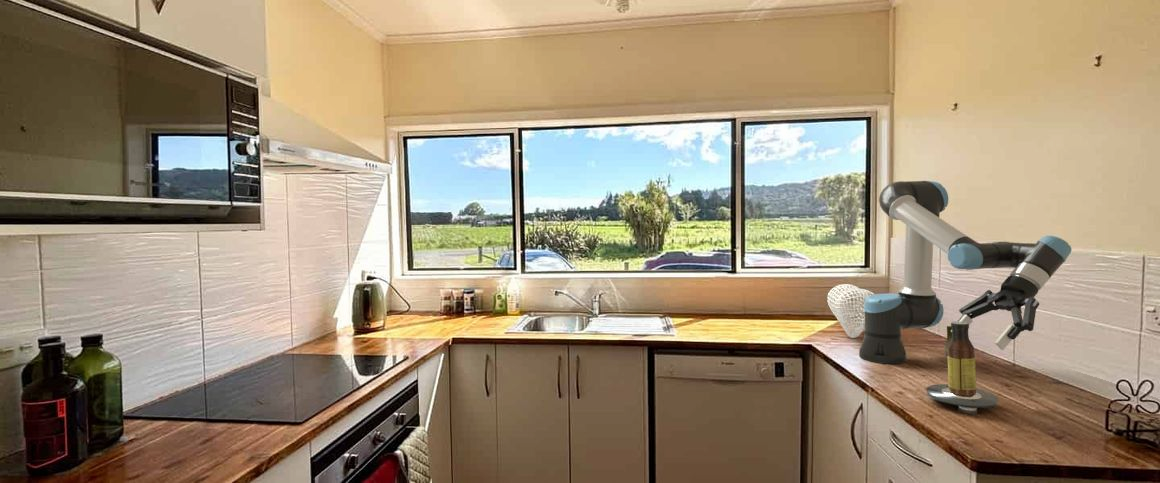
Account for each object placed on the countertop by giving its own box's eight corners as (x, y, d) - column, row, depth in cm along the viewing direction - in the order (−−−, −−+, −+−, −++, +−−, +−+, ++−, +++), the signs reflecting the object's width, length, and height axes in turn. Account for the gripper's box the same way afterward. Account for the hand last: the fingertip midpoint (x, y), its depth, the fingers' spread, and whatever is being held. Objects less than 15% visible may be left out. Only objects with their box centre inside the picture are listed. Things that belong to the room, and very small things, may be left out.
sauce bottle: (977, 392, 144) (978, 322, 143) (974, 398, 140) (975, 326, 139) (948, 387, 149) (949, 319, 148) (945, 393, 144) (945, 323, 143)
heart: (822, 330, 236) (822, 282, 235) (858, 330, 234) (858, 282, 233) (845, 346, 209) (845, 291, 208) (886, 346, 207) (887, 291, 206)
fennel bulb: (965, 361, 184) (966, 328, 183) (950, 361, 184) (951, 328, 184) (956, 357, 189) (957, 324, 189) (942, 357, 190) (942, 324, 190)
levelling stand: (912, 396, 151) (912, 386, 151) (961, 392, 153) (961, 382, 153) (960, 417, 135) (961, 405, 135) (1013, 412, 138) (1014, 401, 137)
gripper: (1080, 299, 132) (1028, 361, 131) (990, 286, 157) (946, 338, 156) (1063, 279, 131) (1010, 342, 130) (975, 269, 156) (930, 321, 155)
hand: (975, 340), depth 143 cm, fingers open, 13 cm apart
